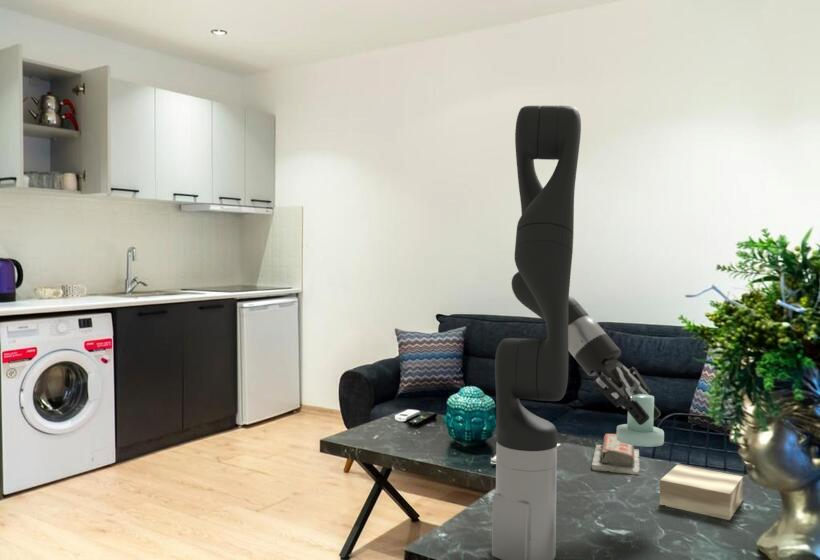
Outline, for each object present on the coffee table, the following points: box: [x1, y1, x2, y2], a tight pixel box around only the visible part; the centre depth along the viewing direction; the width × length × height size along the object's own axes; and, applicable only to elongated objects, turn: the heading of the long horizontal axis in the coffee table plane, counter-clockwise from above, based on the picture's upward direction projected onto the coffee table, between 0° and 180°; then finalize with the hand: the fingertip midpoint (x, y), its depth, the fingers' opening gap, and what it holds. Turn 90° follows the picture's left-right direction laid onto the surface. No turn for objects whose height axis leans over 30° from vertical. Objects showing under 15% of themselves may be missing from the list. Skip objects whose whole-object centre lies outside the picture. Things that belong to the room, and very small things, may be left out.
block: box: [659, 464, 744, 521], centre depth 124 cm, size 12×12×5 cm
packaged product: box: [591, 433, 640, 476], centre depth 150 cm, size 18×5×10 cm
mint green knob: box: [616, 393, 665, 448], centre depth 117 cm, size 8×8×8 cm
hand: (650, 419), depth 116 cm, fingers closed on mint green knob, 4 cm apart
